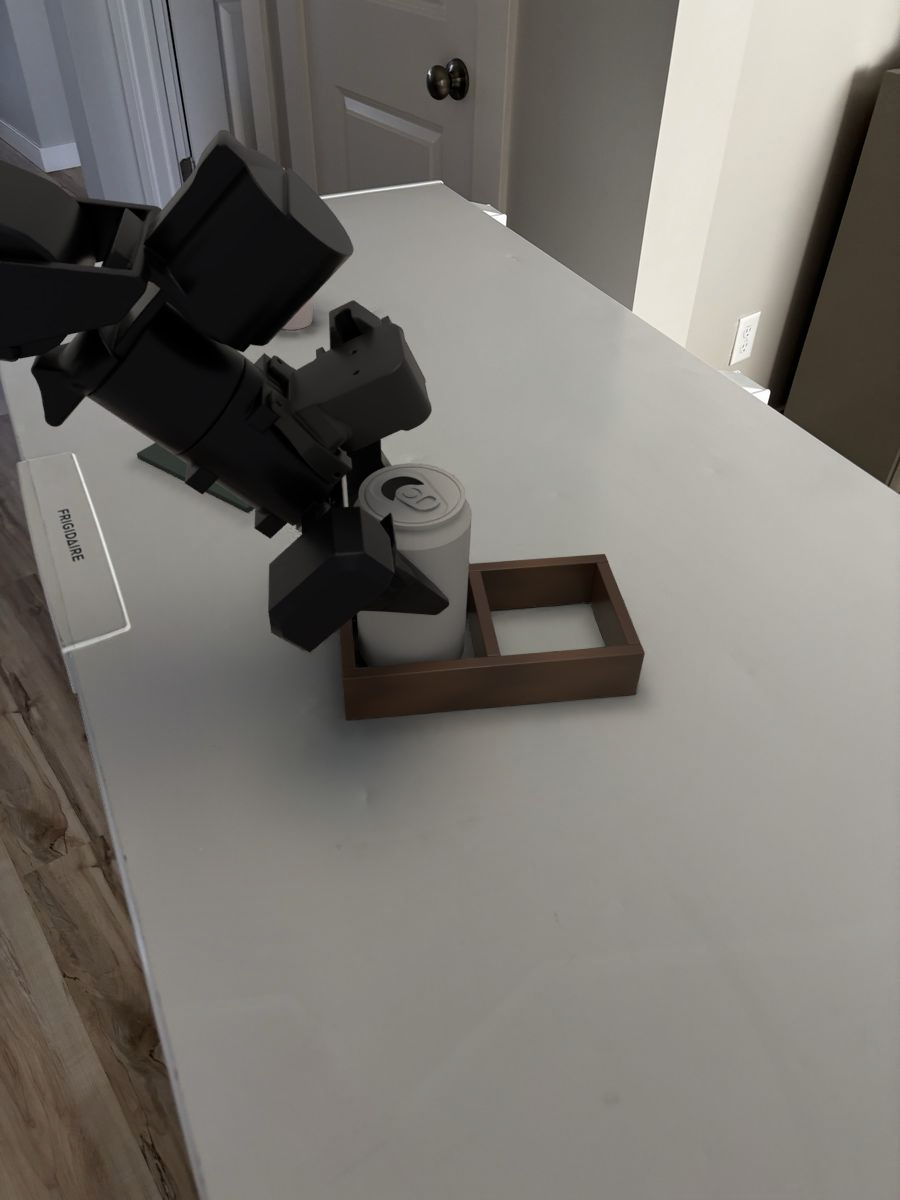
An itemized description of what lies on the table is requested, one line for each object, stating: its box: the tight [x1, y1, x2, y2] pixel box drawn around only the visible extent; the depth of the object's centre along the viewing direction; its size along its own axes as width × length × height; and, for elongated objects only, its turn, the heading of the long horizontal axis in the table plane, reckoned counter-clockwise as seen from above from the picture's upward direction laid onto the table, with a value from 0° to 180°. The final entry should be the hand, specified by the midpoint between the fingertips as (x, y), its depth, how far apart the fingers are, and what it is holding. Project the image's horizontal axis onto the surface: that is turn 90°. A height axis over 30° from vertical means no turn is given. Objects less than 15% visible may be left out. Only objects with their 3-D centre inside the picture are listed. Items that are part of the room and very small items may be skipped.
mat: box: [136, 442, 254, 513], centre depth 74 cm, size 12×12×1 cm
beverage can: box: [354, 462, 473, 667], centre depth 53 cm, size 6×6×12 cm
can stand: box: [338, 553, 646, 721], centre depth 56 cm, size 17×9×4 cm, turn 97°
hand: (436, 568), depth 52 cm, fingers closed on beverage can, 6 cm apart
